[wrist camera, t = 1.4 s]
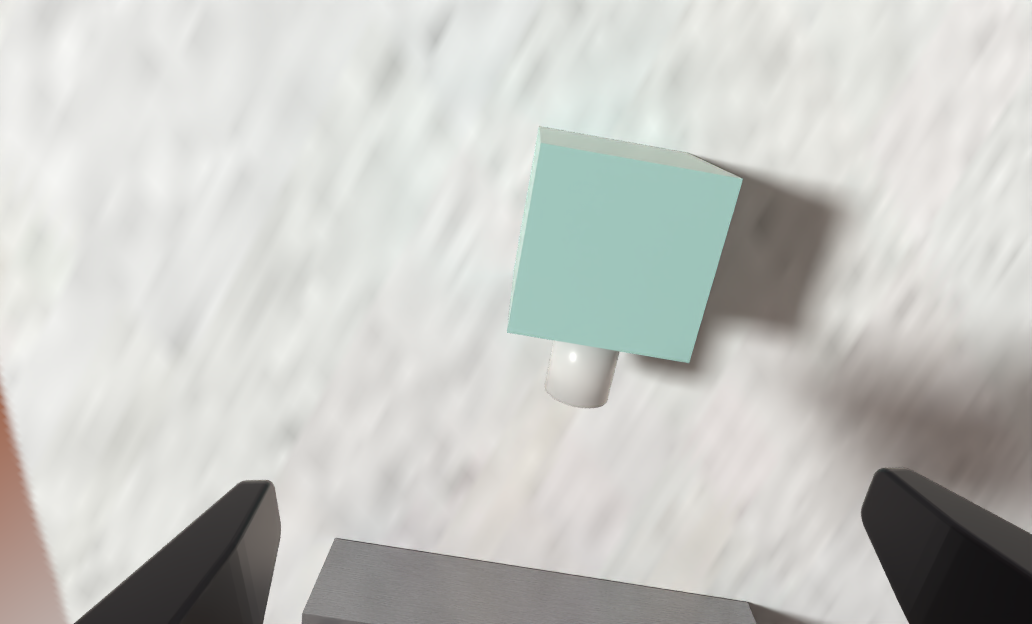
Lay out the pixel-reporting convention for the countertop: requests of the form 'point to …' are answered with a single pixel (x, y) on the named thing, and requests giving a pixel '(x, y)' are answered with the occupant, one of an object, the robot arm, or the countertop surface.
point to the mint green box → (615, 256)
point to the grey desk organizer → (489, 594)
